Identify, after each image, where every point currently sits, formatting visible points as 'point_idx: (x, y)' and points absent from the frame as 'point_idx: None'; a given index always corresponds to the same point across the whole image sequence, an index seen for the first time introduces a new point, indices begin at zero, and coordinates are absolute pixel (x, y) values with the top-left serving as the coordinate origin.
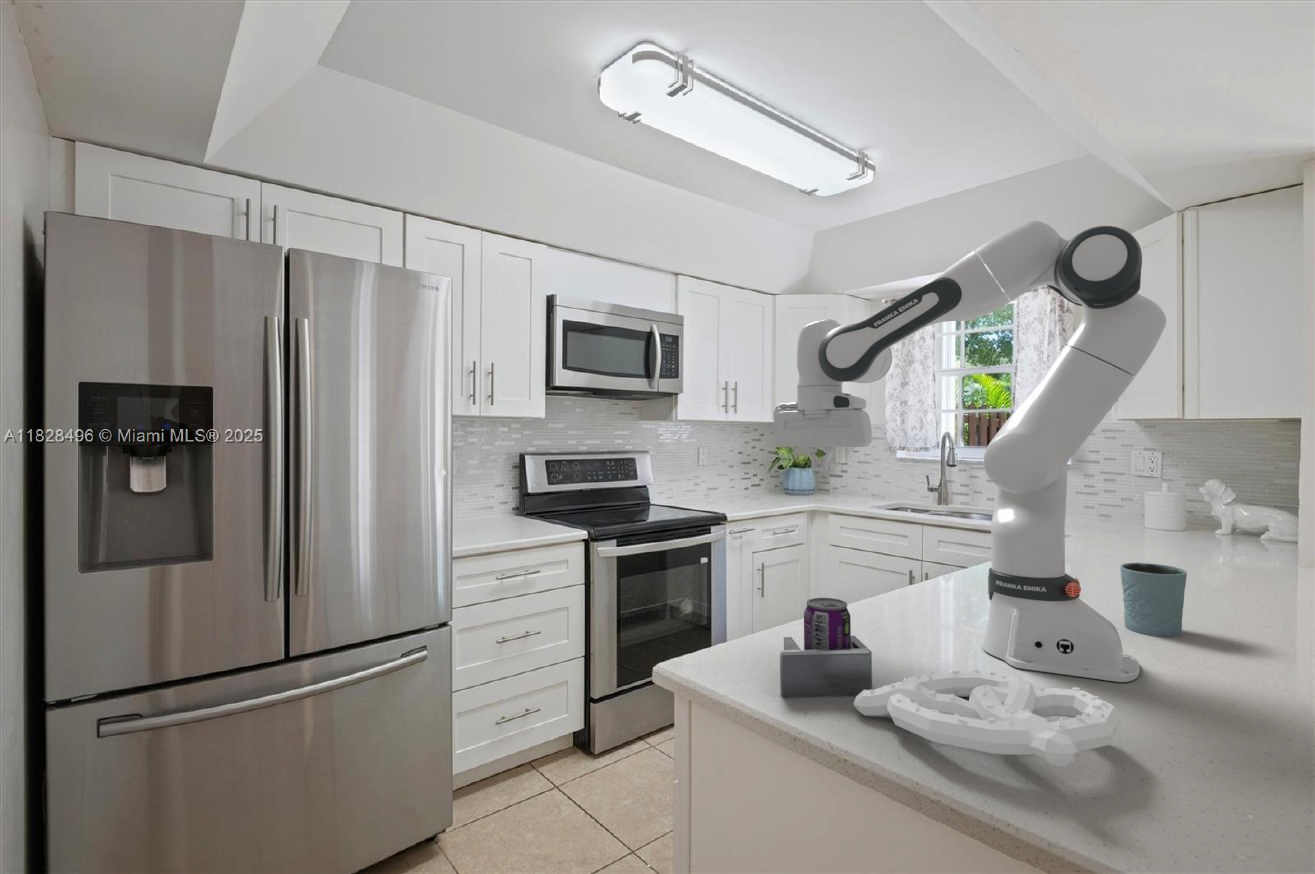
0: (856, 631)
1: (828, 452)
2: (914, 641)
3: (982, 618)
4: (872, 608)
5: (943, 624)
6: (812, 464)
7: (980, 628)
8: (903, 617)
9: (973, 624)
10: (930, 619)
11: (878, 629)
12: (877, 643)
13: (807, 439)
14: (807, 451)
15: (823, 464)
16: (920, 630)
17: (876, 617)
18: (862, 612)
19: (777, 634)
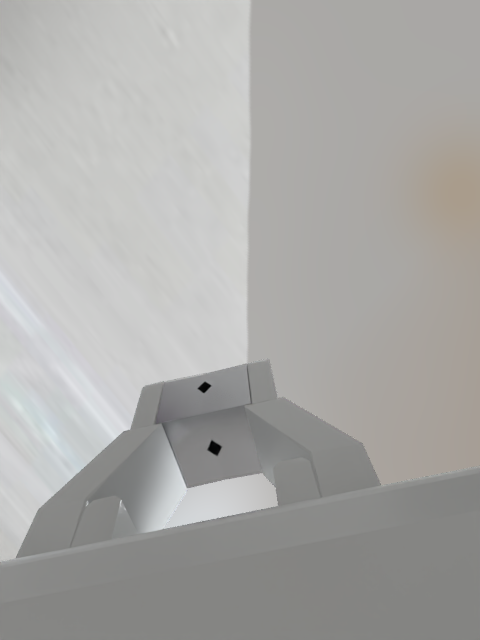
0: (130, 196)
1: (56, 509)
2: (21, 228)
3: (52, 432)
4: (212, 353)
5: (65, 358)
6: (266, 378)
7: (15, 382)
8: (137, 344)
9: (37, 393)
10: (99, 368)
11: (113, 242)
12: (50, 158)
13: (378, 615)
14: (351, 459)
15: (152, 403)
16: (63, 297)
17: (168, 308)
18: (208, 317)
19: (225, 25)
